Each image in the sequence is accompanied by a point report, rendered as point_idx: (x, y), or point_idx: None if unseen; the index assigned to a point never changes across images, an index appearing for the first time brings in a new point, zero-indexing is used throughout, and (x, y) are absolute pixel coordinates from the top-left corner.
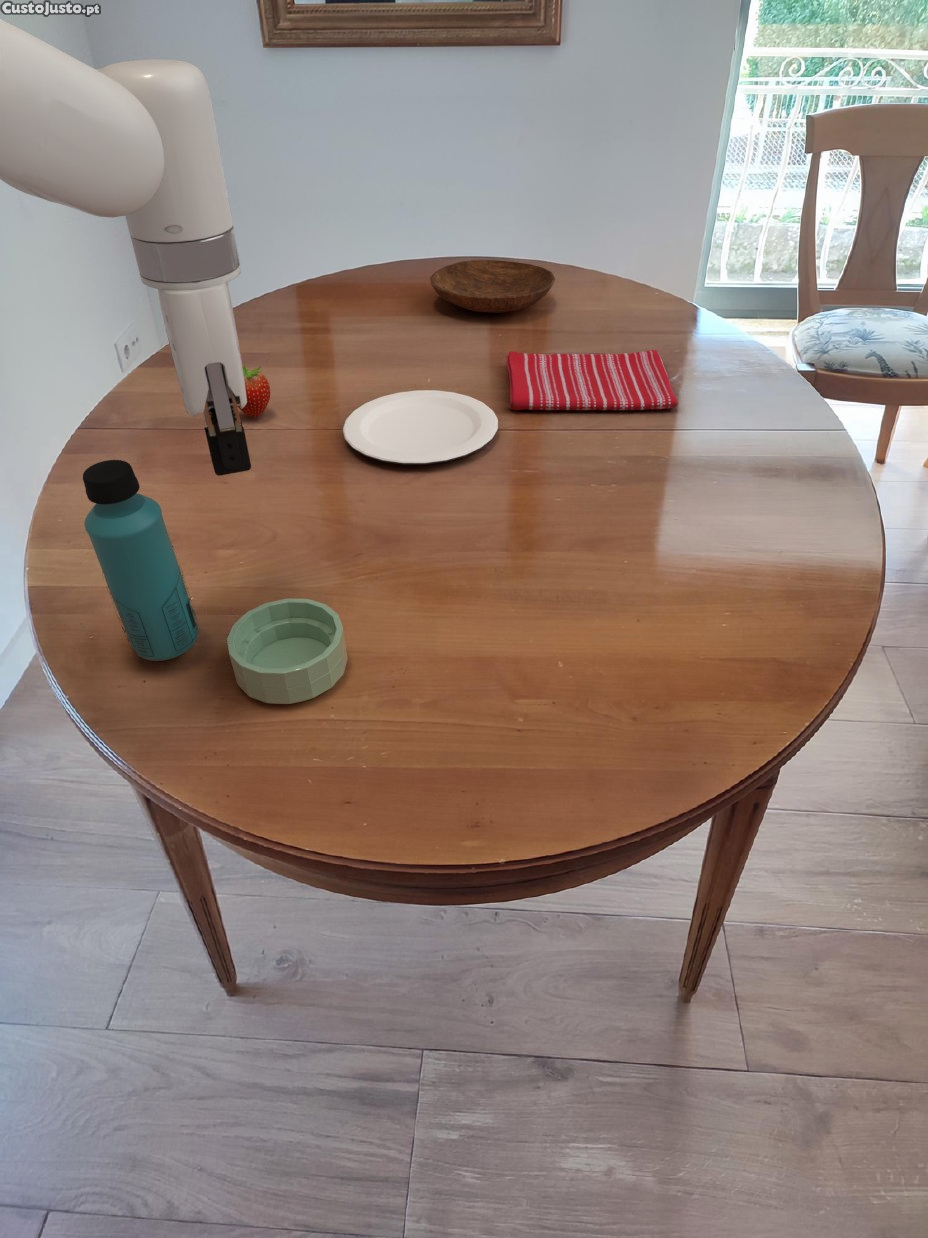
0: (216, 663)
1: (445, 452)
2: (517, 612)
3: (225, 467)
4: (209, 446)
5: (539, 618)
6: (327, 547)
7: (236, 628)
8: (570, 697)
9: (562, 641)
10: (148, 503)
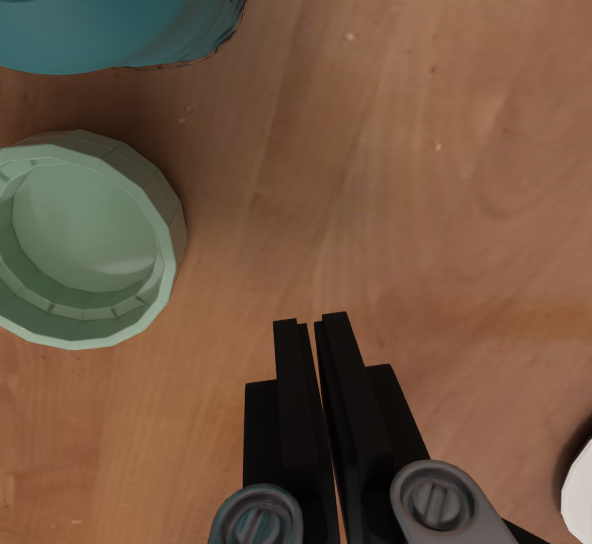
0: (127, 88)
1: (581, 493)
2: (183, 500)
3: (247, 384)
4: (281, 412)
5: (166, 517)
6: (421, 299)
7: (87, 165)
8: (16, 521)
9: (118, 529)
10: (15, 21)
